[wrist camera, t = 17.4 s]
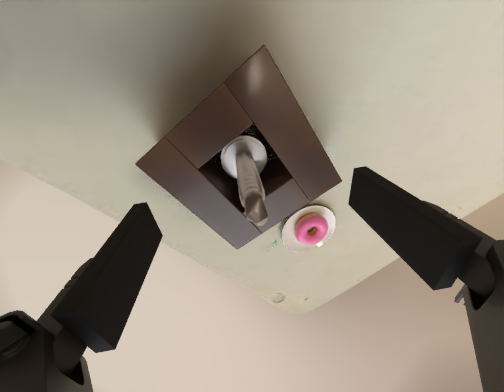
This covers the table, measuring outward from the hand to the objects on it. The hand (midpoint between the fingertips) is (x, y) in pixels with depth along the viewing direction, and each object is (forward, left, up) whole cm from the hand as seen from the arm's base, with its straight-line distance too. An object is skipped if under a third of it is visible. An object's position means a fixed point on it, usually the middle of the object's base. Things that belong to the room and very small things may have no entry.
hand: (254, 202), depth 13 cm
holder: (0, 0, -11) cm, 11 cm away
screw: (0, 0, -11) cm, 11 cm away
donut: (+1, +15, -11) cm, 19 cm away
